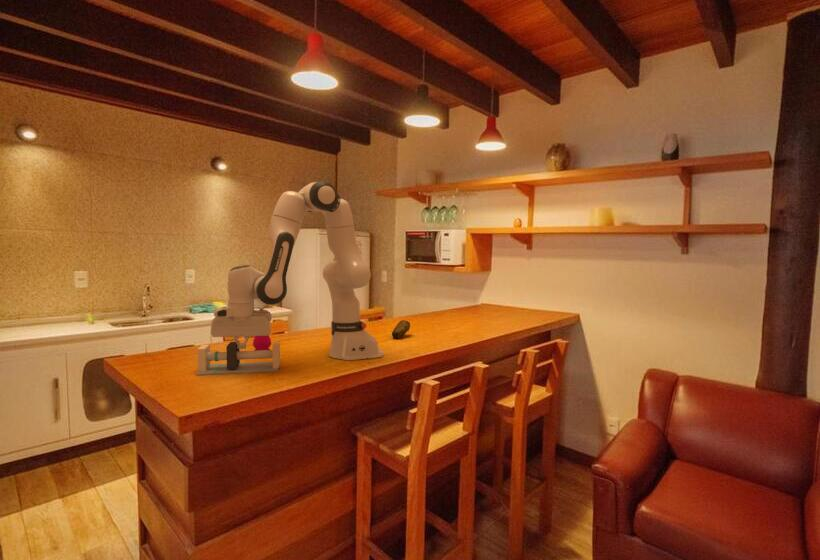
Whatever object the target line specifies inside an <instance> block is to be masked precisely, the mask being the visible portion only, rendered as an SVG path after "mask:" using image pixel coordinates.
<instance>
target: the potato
mask: <svg viewBox="0 0 820 560" xmlns="http://www.w3.org/2000/svg"><path fill="white" fill-rule="evenodd" d="M410 328H411V323H410V321H408V320H400V321H399V322H398V323H397V324H396V325H395V327H394V328H393V330H392V331H391V336H392V338H393V339H399V338H400V339H401V338H402V337H404V336H405V334H407V332H409V331H410Z"/></svg>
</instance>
